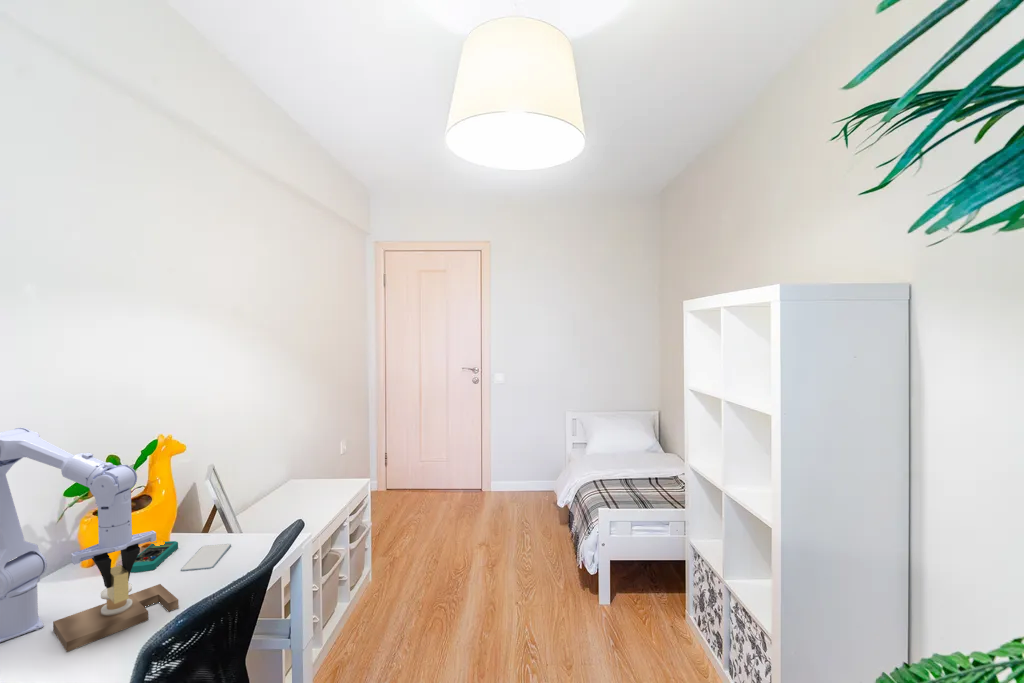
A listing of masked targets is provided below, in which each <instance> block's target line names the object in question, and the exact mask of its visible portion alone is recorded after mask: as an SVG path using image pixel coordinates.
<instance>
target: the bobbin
mask: <svg viewBox="0 0 1024 683" xmlns="http://www.w3.org/2000/svg"><path fill="white" fill-rule="evenodd" d="M132 590H133V585H132V583H129V582H128V593H131V592H132ZM100 599H102V600H106V603H107V604H106V605H104V606H103V607H102V608H101V614H102V615H104V616H110V615H115V614H119V613H122V612H124V611H126V610H128V609H129V608H130V607H131V606H132V600H131V599H127V600H124V601H121V602H118V603H116V604H114V603H113V602H112V601H111V599H110V598H109V597H108V596H107V588H106V587H105V588H104V589H102V591H101V592H100Z"/></svg>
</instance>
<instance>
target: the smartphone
mask: <svg viewBox="0 0 1024 683" xmlns="http://www.w3.org/2000/svg"><path fill="white" fill-rule="evenodd" d="M231 547H232V544H231V543H222V544H210V545H203V546H201V547H200V548H199V549H198V551H196V552H195V554H194V555H192V556H191V558H190V559H189V560H188V561H187V562H186V563H185V564H184V565H183V567H181V568H180V572H188V571H189V570H191V571H199V570H200V571H201V570H211V569H214V568H215V566H216V565H217V564H218V563H219V562H220V561H221V559H222V558H223V557H224V556H225V555H226V554H227V552H228V551H229V549H231Z"/></svg>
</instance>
